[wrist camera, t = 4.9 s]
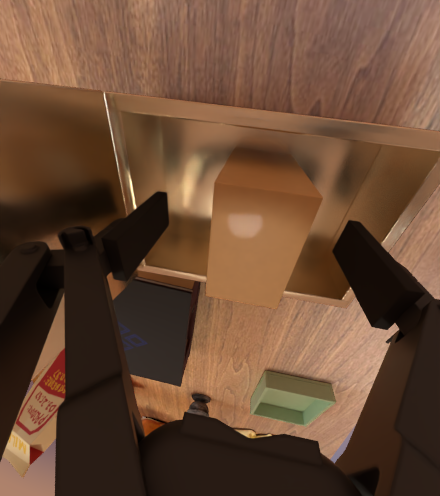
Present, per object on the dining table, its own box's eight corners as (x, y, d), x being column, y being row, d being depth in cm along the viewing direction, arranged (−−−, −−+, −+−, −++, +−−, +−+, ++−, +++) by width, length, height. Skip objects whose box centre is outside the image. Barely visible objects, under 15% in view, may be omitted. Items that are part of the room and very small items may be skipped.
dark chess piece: (203, 392, 52) (191, 457, 43) (215, 402, 55) (206, 465, 45) (186, 394, 55) (171, 455, 45) (199, 403, 57) (187, 463, 48)
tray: (331, 383, 40) (336, 402, 37) (303, 410, 49) (306, 426, 47) (265, 370, 41) (265, 387, 38) (250, 398, 50) (250, 414, 47)
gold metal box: (397, 125, 15) (476, 135, 10) (325, 261, 24) (347, 309, 18) (153, 96, 17) (102, 90, 11) (164, 234, 25) (137, 270, 19)
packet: (292, 155, 17) (324, 197, 9) (269, 234, 22) (277, 309, 14) (234, 147, 17) (213, 181, 9) (224, 227, 22) (204, 296, 14)
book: (205, 255, 26) (192, 293, 20) (191, 350, 40) (180, 387, 35) (78, 226, 26) (32, 256, 21) (109, 330, 41) (87, 363, 36)
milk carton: (112, 334, 42) (20, 476, 26) (119, 355, 47) (47, 484, 31) (71, 325, 42) (-44, 459, 26) (83, 347, 48) (-7, 469, 32)
